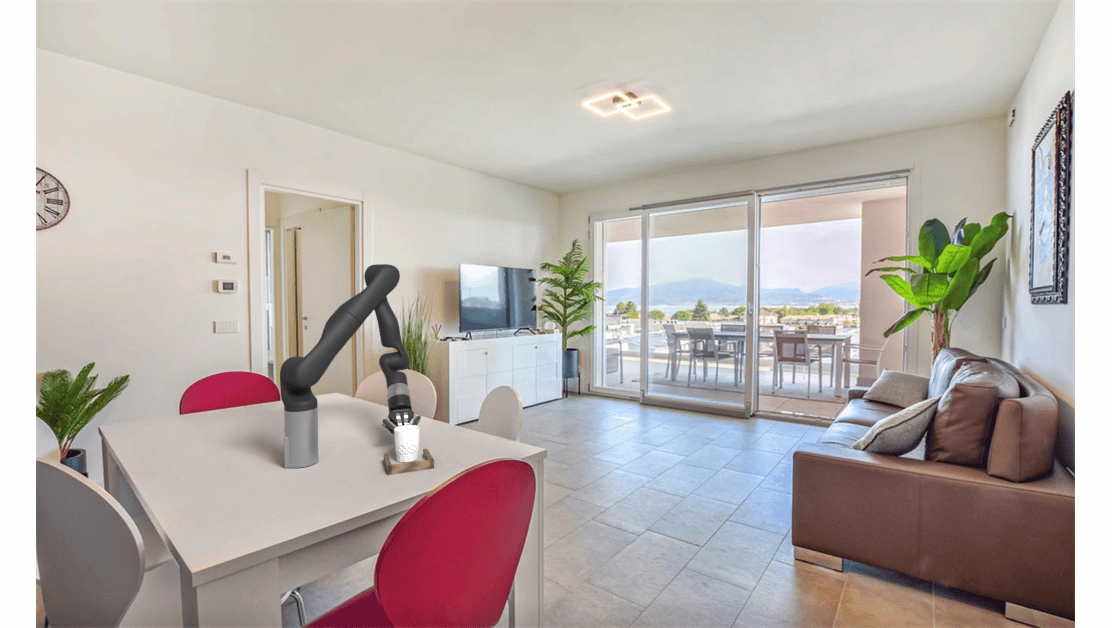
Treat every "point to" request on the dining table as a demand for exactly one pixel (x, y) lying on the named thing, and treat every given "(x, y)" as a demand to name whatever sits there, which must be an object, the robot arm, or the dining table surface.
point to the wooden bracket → (409, 464)
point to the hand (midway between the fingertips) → (404, 443)
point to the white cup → (407, 443)
